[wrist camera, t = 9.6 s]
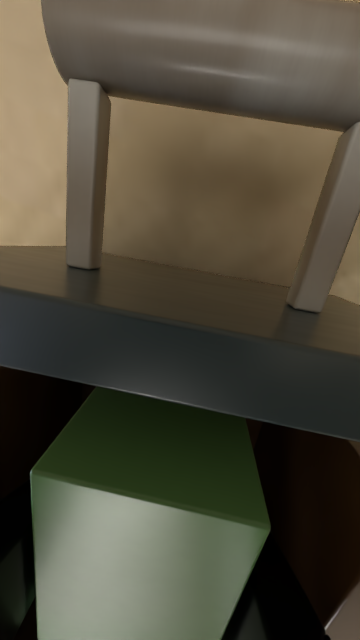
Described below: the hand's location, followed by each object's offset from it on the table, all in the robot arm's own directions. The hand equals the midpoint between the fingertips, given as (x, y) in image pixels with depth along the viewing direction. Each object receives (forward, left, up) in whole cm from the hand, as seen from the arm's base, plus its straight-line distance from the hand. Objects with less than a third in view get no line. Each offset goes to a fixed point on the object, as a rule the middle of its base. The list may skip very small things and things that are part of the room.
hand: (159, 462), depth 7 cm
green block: (0, 0, -1) cm, 1 cm away
